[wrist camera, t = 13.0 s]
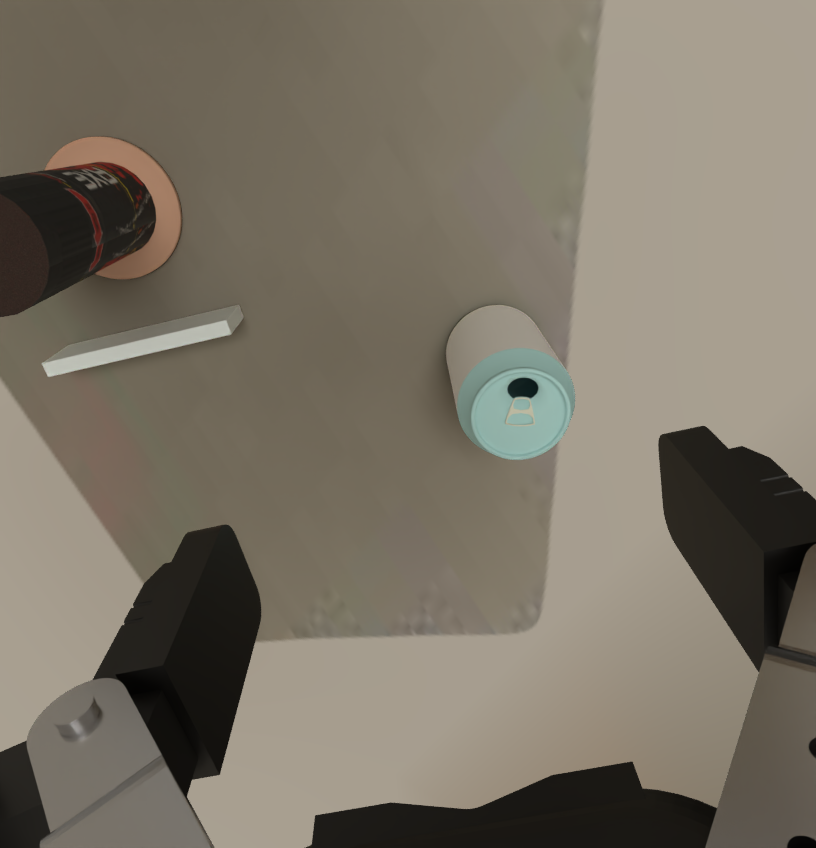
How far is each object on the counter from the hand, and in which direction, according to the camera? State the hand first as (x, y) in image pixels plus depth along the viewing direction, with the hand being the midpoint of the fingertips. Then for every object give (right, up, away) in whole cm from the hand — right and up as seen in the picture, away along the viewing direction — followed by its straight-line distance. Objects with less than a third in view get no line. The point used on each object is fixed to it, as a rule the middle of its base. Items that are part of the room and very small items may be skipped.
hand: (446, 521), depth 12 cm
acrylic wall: (-19, +8, +36) cm, 41 cm away
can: (+6, +7, +37) cm, 38 cm away
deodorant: (-20, +16, +32) cm, 41 cm away
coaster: (-20, +16, +32) cm, 41 cm away
